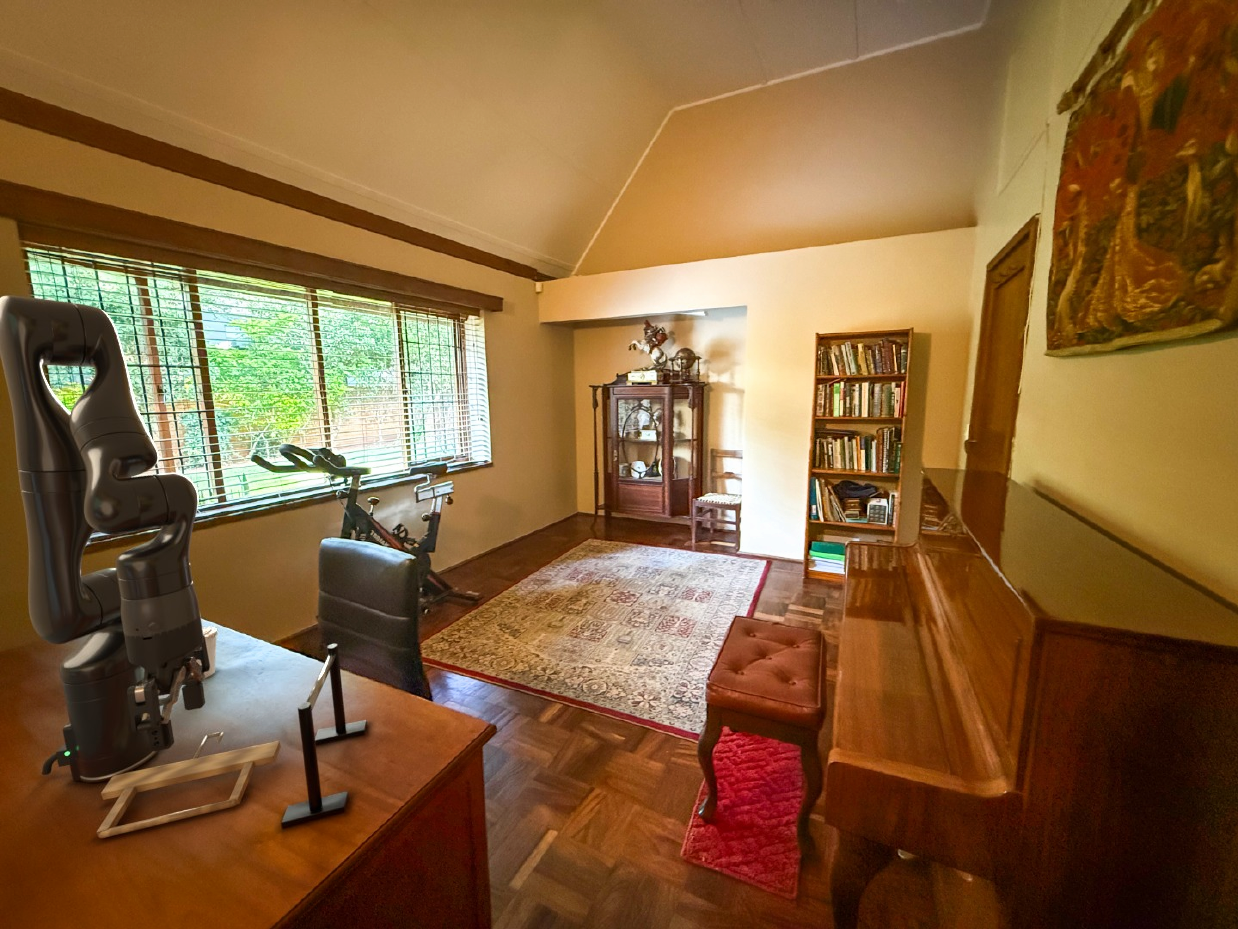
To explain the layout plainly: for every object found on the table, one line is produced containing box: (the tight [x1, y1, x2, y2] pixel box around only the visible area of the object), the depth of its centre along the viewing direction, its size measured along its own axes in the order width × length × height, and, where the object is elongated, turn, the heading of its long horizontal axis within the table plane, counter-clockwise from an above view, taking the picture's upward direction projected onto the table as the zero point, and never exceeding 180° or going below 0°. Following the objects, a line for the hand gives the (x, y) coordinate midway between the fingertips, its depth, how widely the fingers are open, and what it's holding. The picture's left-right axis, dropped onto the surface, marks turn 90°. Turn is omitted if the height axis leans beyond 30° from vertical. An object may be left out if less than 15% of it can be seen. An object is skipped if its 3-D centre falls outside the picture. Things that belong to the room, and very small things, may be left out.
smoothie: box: [196, 614, 219, 679], centre depth 103 cm, size 6×6×14 cm
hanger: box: [96, 731, 281, 839], centre depth 75 cm, size 22×1×15 cm
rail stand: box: [280, 643, 368, 830], centre depth 76 cm, size 8×20×18 cm, turn 20°
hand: (180, 727), depth 66 cm, fingers open, 8 cm apart
